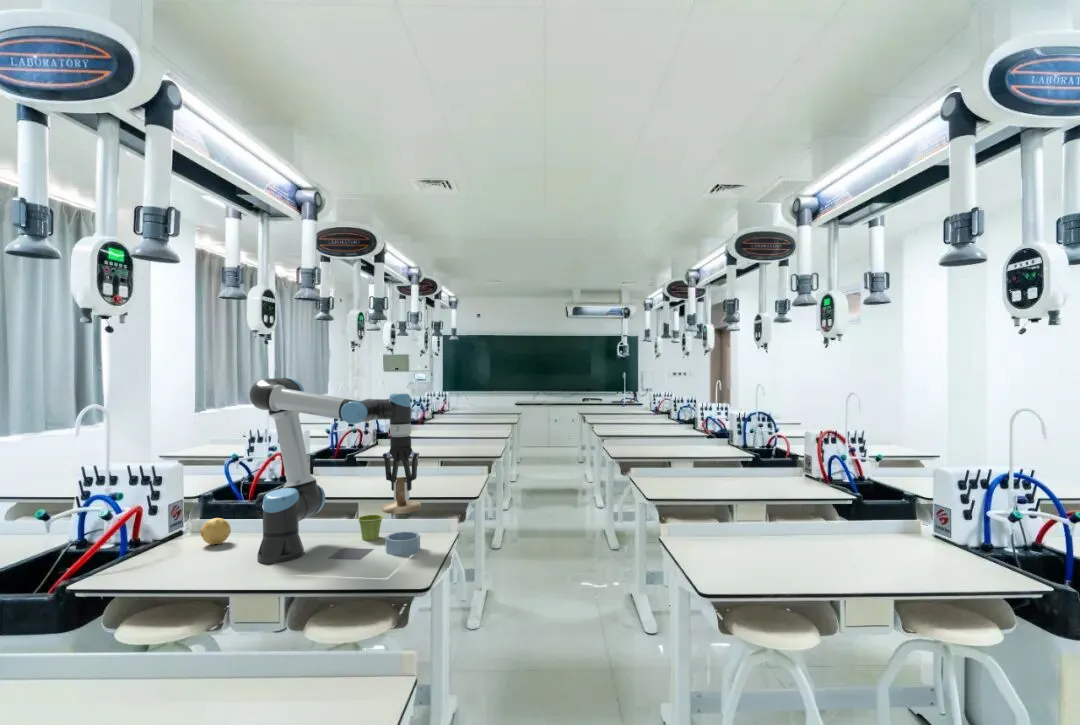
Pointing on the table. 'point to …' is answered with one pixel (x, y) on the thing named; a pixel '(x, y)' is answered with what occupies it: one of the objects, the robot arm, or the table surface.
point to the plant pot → (370, 526)
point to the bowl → (402, 543)
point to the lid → (401, 501)
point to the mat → (350, 553)
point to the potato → (215, 531)
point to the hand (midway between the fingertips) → (401, 499)
